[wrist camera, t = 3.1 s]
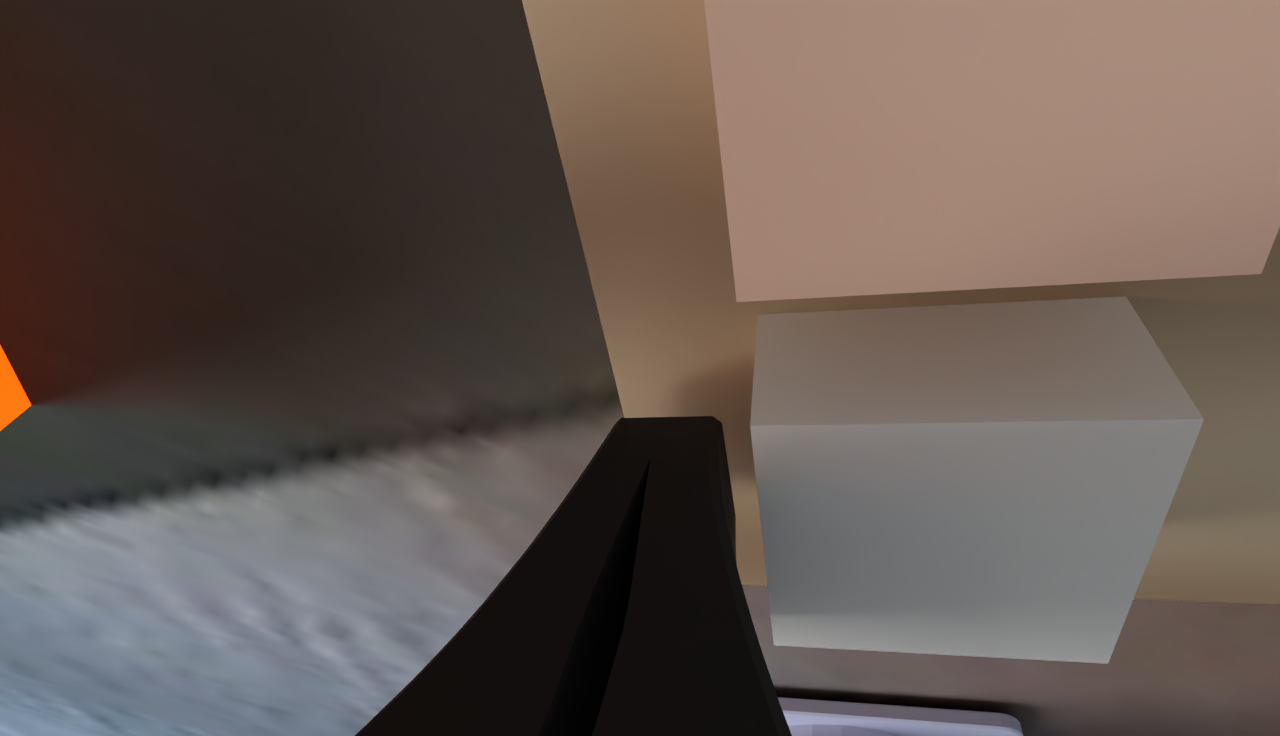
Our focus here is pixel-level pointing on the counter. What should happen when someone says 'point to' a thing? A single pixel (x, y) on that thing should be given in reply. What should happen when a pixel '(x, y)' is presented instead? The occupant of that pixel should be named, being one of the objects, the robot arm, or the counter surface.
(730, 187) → the terracotta tile
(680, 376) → the flat wooden plank
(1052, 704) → the counter surface
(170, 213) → the counter surface
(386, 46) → the counter surface
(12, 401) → the orange juice
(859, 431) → the cream tile
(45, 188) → the counter surface
